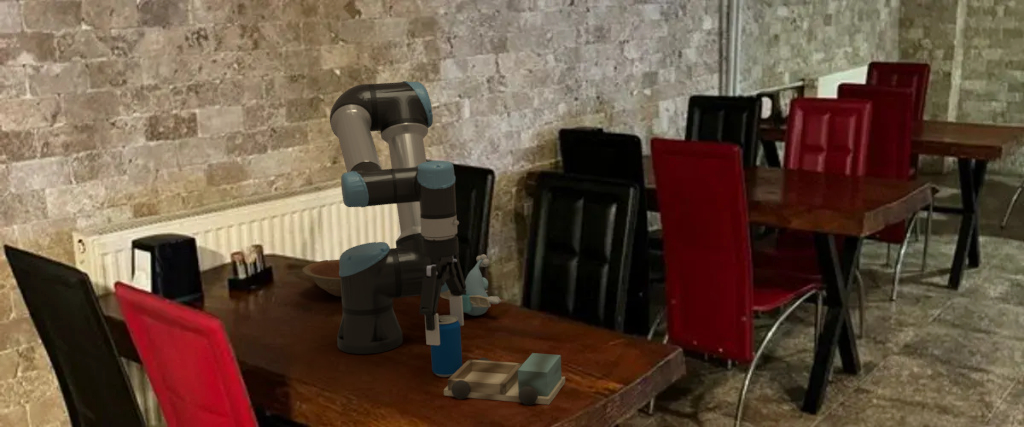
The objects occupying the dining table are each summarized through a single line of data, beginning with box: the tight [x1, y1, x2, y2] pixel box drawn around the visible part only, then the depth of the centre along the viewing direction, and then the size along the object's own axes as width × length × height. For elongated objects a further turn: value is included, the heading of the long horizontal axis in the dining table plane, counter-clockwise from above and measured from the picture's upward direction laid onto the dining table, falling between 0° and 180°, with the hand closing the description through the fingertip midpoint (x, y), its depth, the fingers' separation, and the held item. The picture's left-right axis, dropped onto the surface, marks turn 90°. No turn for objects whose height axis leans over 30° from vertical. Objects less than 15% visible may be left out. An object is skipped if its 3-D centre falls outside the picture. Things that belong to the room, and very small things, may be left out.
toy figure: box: [440, 254, 502, 317], centre depth 251 cm, size 17×10×15 cm, turn 50°
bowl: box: [302, 259, 342, 298], centre depth 276 cm, size 24×24×8 cm
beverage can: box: [430, 314, 463, 378], centre depth 212 cm, size 6×6×12 cm
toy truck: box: [443, 352, 566, 406], centre depth 202 cm, size 22×14×6 cm, turn 72°
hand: (445, 334), depth 211 cm, fingers open, 13 cm apart
